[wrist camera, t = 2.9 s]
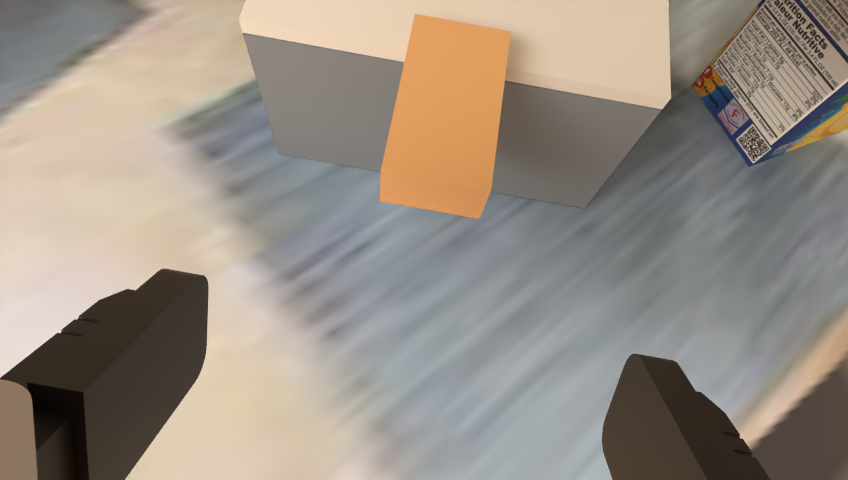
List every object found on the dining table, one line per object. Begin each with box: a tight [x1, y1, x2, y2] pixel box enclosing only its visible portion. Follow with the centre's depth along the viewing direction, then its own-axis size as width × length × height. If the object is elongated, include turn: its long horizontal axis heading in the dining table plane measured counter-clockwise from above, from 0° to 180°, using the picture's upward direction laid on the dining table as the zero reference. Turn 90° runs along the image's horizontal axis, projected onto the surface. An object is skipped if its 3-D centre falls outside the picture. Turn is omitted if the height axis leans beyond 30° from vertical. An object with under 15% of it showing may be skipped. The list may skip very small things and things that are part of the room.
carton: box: [243, 33, 661, 208], centre depth 33 cm, size 19×16×10 cm
